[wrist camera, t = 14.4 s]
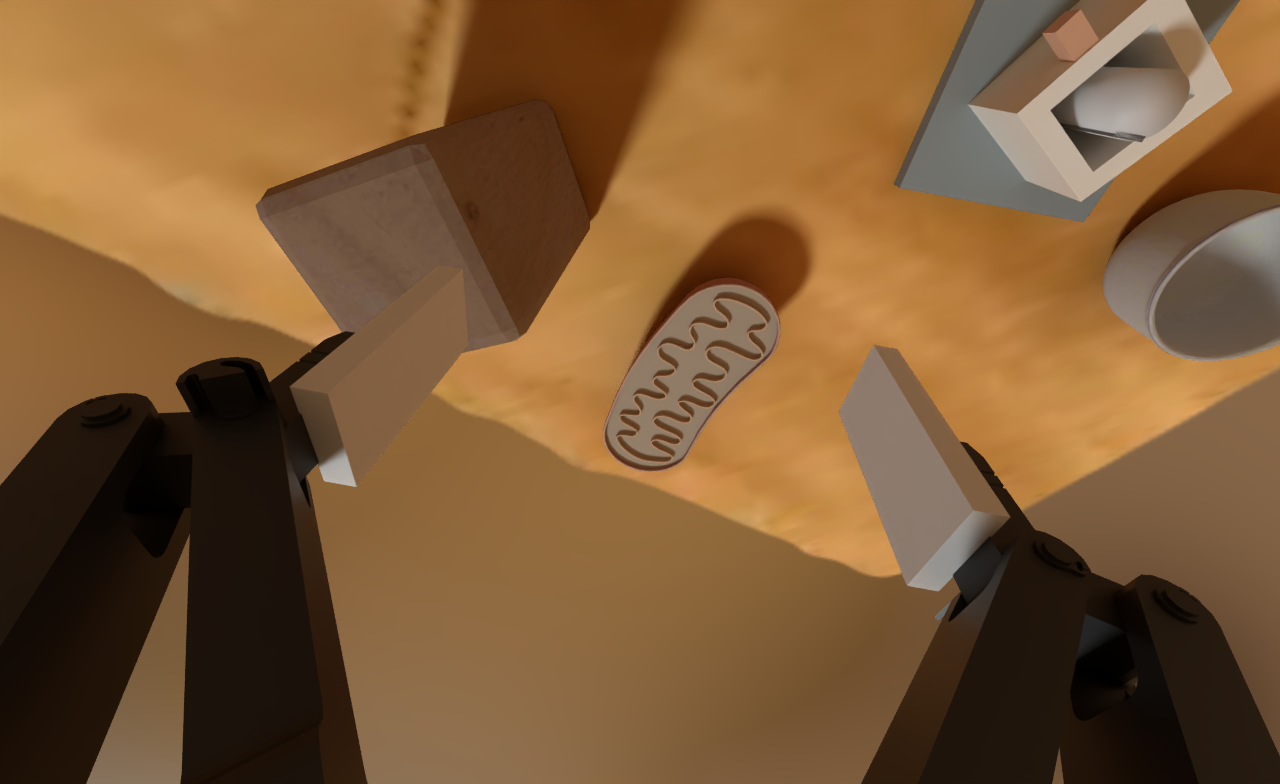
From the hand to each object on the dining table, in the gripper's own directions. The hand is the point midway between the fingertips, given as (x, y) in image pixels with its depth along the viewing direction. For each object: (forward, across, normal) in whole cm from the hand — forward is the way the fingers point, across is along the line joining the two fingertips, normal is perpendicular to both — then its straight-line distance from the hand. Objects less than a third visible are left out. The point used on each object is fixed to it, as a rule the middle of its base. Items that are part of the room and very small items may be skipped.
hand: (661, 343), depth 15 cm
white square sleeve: (+26, +22, +10) cm, 35 cm away
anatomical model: (+27, +3, -17) cm, 32 cm away
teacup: (+27, +39, +2) cm, 47 cm away
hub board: (+27, +23, +9) cm, 36 cm away
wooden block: (+27, -13, -3) cm, 30 cm away
